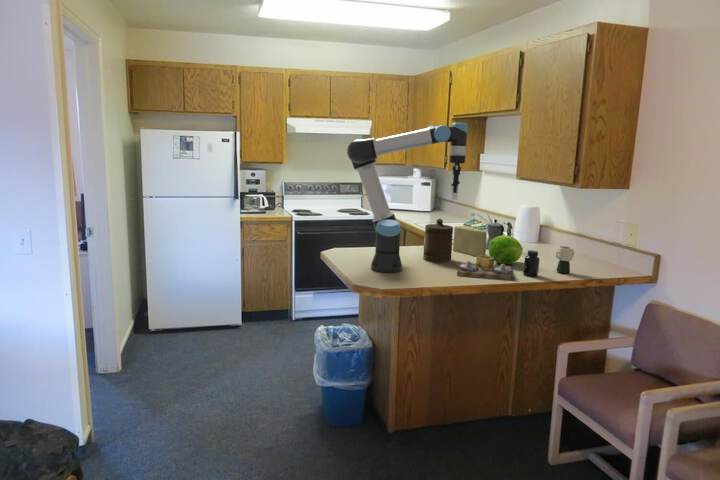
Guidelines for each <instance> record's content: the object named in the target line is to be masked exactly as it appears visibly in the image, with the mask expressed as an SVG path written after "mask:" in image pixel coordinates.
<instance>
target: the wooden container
mask: <svg viewBox="0 0 720 480" xmlns="http://www.w3.org/2000/svg"><path fill="white" fill-rule="evenodd" d="M443 222H444V220H443V219H442V218H438V219H436V223H429V224H425V229H424V240H423V241H424V242H423V256H422V258H423V259H422V260H425V261H427V262H431V263H443V264H444V263H449V262H451V261H452V253H453V252H452V251H453V236H454V227H453V226H451V225H447V224H444V223H443Z"/></svg>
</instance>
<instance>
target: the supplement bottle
mask: <svg viewBox="0 0 720 480" xmlns="http://www.w3.org/2000/svg"><path fill="white" fill-rule="evenodd" d="M538 256H539V251H537V250H532V249H531V250H527V255H526V256H525V257H524V265H523V273H522V274H523V275H524V276H525V277H530V278H536V277H538V276H539V266H540V257H538Z"/></svg>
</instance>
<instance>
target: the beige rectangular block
mask: <svg viewBox="0 0 720 480" xmlns="http://www.w3.org/2000/svg"><path fill="white" fill-rule="evenodd" d="M487 236H488V231H486V230H482V229H478V228H473V227H471V226H469V225H455V226H454V228H453V241H452V251H453V252H457V253H460V254H465V255H469V256H471V257H472V256H473V257H476V258H477V256H479V255H486V251H487V249H486V243H487V239H488V237H487Z"/></svg>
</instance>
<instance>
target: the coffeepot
mask: <svg viewBox="0 0 720 480" xmlns="http://www.w3.org/2000/svg"><path fill="white" fill-rule="evenodd" d="M486 228H487V236H488V237H487V240H486V251H489V250H488V249H489V243H490V241H491V240H492V239H493V238H495V237H497V236H501V235H504V233H505V227H504V224H502V223H498V220H497V219H494V220H493V222H488V223H487V227H486Z"/></svg>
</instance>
